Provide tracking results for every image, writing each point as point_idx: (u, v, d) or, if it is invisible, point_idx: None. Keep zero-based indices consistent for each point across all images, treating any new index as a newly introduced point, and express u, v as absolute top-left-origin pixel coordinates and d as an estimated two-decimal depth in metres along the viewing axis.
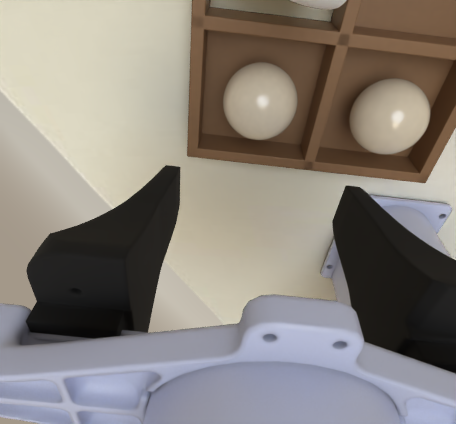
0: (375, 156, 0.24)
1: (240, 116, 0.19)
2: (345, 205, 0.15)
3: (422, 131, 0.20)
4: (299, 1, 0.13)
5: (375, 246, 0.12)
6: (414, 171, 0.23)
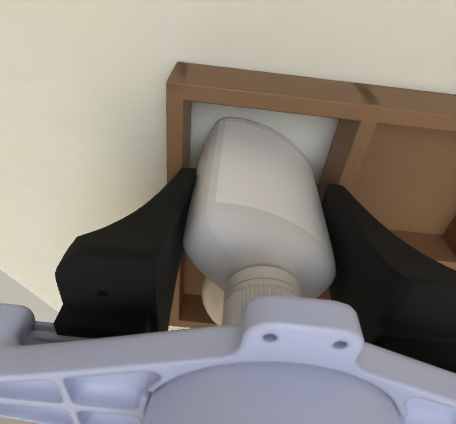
0: None
1: (217, 319, 0.19)
2: (327, 203, 0.15)
3: None
4: None
5: (353, 244, 0.12)
6: None
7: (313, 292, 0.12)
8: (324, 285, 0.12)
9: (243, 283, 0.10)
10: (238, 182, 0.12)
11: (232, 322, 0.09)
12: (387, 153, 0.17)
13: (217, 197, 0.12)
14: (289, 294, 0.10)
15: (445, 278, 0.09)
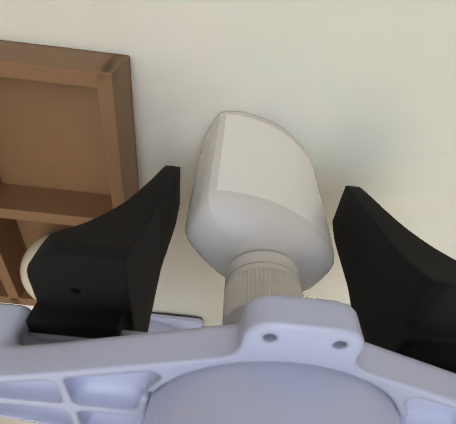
0: None
1: None
2: (345, 205, 0.15)
3: None
4: None
5: (375, 246, 0.12)
6: None
7: (312, 278, 0.12)
8: (322, 271, 0.12)
9: (244, 266, 0.11)
10: (238, 172, 0.13)
11: (233, 303, 0.10)
12: (14, 108, 0.17)
13: (219, 185, 0.12)
14: (288, 277, 0.10)
15: None
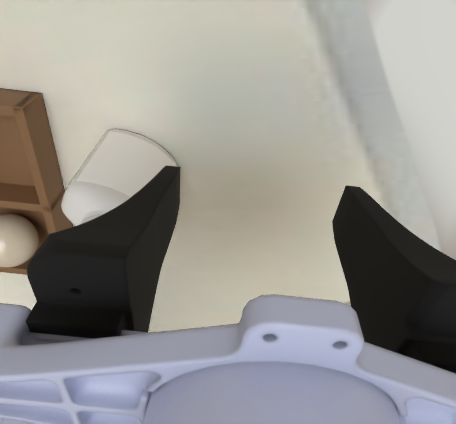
0: None
1: None
2: (345, 205, 0.15)
3: (15, 256, 0.28)
4: None
5: (375, 246, 0.12)
6: None
7: None
8: None
9: None
10: (95, 170, 0.21)
11: None
12: None
13: (78, 178, 0.20)
14: None
15: None
